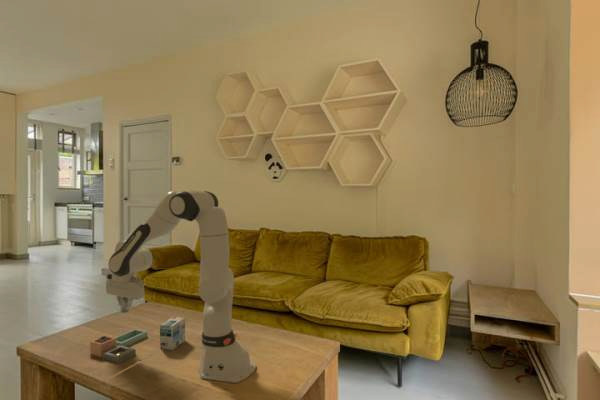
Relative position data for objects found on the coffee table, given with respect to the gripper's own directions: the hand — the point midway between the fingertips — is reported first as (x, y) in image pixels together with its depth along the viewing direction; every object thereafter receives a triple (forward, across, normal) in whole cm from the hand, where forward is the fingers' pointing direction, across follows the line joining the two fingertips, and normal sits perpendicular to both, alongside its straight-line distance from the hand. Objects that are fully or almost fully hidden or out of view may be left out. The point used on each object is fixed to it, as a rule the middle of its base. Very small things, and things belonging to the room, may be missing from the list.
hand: (124, 306), depth 151 cm
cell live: (+2, 0, 0) cm, 2 cm away
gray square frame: (+18, -8, +9) cm, 22 cm away
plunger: (+17, -8, +9) cm, 21 cm away
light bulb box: (+18, -19, -10) cm, 28 cm away
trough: (+18, +1, -3) cm, 18 cm away
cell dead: (+17, +2, +9) cm, 20 cm away
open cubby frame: (+18, +2, +9) cm, 20 cm away
